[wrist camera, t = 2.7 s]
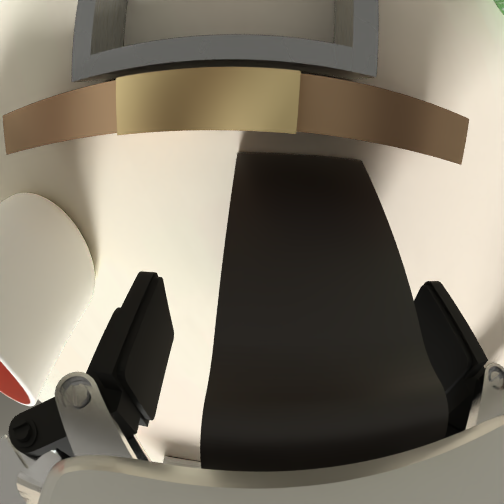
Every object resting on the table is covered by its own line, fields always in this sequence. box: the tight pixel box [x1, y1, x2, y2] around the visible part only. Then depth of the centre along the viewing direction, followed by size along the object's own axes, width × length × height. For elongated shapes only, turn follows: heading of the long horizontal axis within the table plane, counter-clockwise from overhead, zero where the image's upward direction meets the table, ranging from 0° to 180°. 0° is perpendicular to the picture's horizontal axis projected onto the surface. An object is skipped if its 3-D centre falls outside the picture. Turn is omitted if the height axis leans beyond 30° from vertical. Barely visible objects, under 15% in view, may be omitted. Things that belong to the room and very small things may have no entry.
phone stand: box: [200, 153, 448, 472], centre depth 10 cm, size 9×6×12 cm, turn 179°
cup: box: [0, 193, 95, 406], centre depth 12 cm, size 10×10×10 cm
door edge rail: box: [3, 67, 469, 165], centre depth 9 cm, size 20×2×4 cm, turn 87°
